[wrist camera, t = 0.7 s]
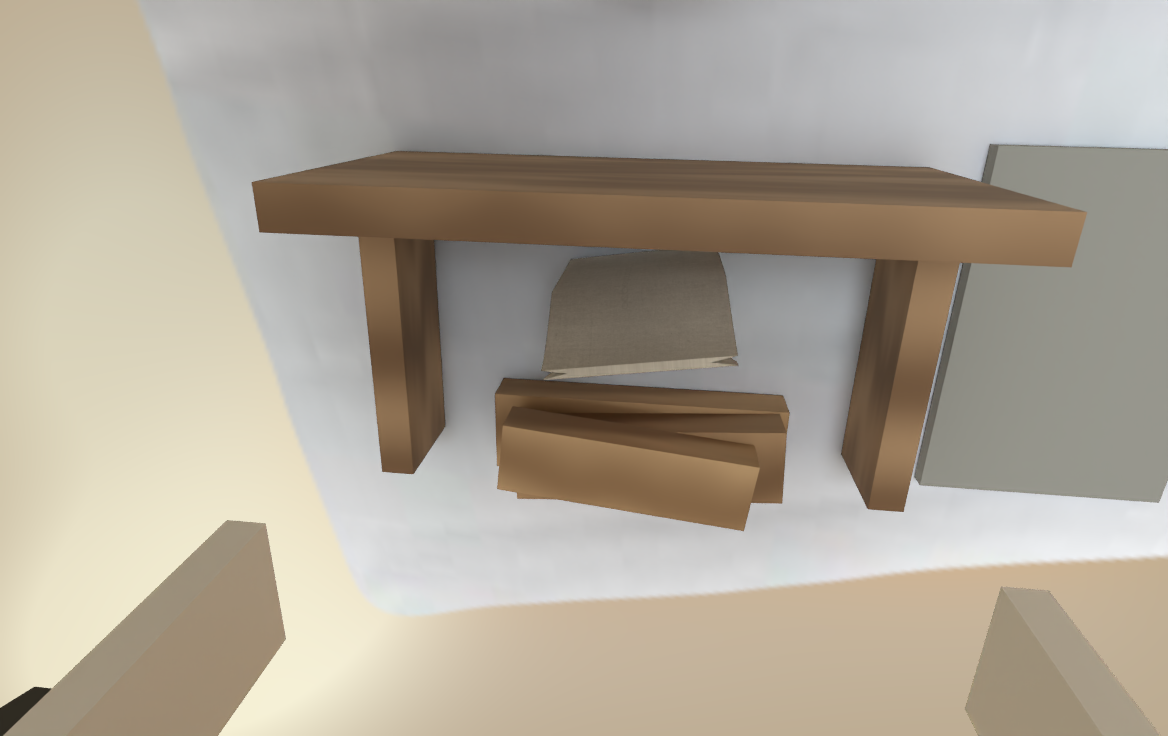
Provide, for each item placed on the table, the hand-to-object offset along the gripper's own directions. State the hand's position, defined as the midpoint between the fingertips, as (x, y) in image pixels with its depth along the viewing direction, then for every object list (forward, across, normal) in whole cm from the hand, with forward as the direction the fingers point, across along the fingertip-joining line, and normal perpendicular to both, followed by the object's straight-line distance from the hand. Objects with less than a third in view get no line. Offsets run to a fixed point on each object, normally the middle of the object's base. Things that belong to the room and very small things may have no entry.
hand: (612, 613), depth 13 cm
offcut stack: (+22, 0, -7) cm, 23 cm away
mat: (+22, +20, -1) cm, 29 cm away
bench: (+22, 0, -1) cm, 22 cm away
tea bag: (+22, 0, 0) cm, 22 cm away
